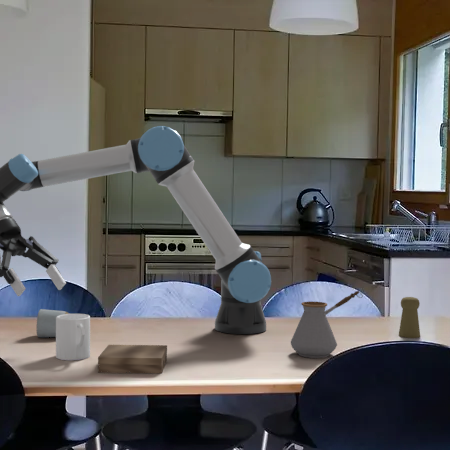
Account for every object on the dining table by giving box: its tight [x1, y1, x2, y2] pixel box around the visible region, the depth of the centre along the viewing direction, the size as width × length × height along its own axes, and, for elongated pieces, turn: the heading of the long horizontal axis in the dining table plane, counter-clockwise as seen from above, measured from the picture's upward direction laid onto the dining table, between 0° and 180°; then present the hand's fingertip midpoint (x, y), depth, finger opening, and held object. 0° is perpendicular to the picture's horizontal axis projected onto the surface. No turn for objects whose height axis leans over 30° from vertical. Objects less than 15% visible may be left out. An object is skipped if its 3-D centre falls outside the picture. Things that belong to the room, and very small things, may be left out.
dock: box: [97, 344, 168, 374], centre depth 160 cm, size 14×13×4 cm
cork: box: [398, 296, 421, 339], centre depth 198 cm, size 6×6×11 cm
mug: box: [55, 313, 91, 361], centre depth 167 cm, size 8×12×10 cm, turn 30°
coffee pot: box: [290, 290, 363, 359], centre depth 176 cm, size 21×12×15 cm, turn 123°
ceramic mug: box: [36, 308, 70, 339], centre depth 193 cm, size 11×8×8 cm
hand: (42, 289), depth 172 cm, fingers open, 13 cm apart
